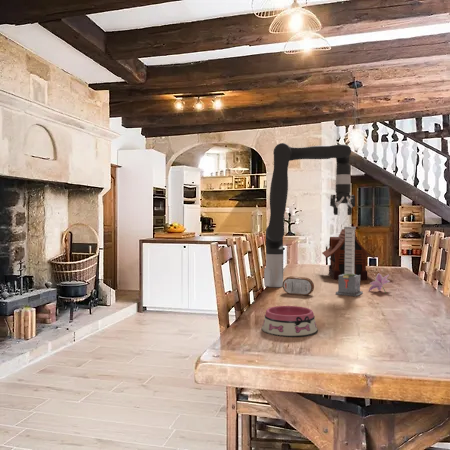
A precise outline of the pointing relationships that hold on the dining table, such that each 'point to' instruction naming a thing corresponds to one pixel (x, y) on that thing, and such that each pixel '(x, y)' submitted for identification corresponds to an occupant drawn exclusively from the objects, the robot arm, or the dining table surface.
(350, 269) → the column
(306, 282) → the tin
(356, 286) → the stand housing
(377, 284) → the lily
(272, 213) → the robot arm
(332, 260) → the house
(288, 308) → the dog bowl
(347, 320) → the dining table surface
